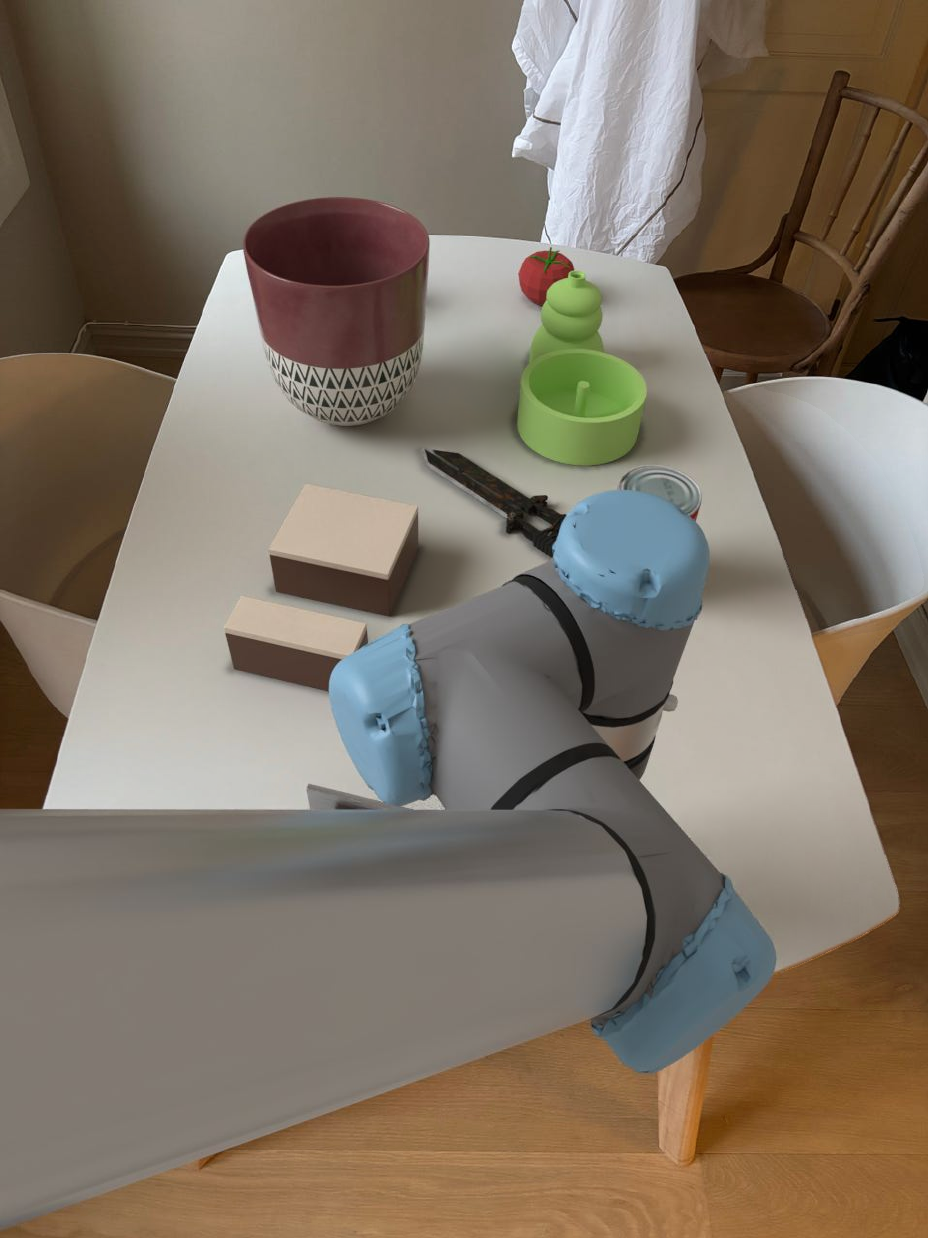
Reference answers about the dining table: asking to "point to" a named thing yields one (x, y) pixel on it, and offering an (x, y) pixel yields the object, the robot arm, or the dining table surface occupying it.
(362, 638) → the cake slice
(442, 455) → the knife
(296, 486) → the dining table surface
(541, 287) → the tomato
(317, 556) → the cake
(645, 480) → the canned food
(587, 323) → the green piece
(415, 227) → the planter
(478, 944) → the robot arm
